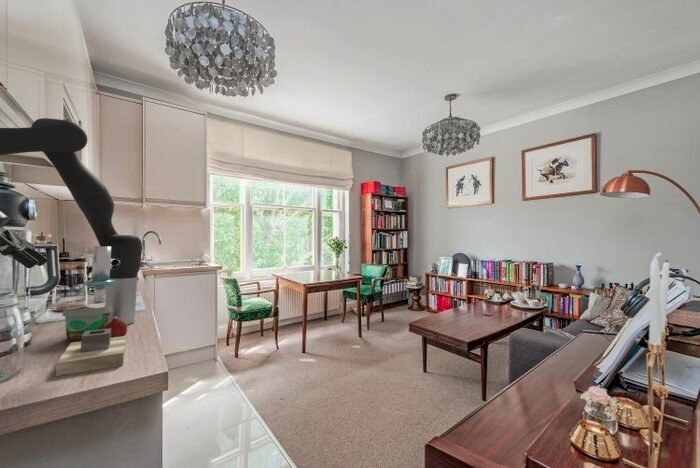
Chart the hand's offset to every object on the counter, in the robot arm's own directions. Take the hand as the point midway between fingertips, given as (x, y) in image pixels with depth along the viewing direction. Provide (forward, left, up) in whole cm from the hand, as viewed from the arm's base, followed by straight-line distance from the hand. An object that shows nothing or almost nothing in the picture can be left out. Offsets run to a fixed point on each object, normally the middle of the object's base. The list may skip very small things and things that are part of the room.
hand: (39, 264), depth 71 cm
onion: (-13, +15, -25) cm, 32 cm away
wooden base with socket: (0, +11, -25) cm, 27 cm away
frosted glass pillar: (0, +11, -10) cm, 15 cm away
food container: (-21, +6, -25) cm, 33 cm away
